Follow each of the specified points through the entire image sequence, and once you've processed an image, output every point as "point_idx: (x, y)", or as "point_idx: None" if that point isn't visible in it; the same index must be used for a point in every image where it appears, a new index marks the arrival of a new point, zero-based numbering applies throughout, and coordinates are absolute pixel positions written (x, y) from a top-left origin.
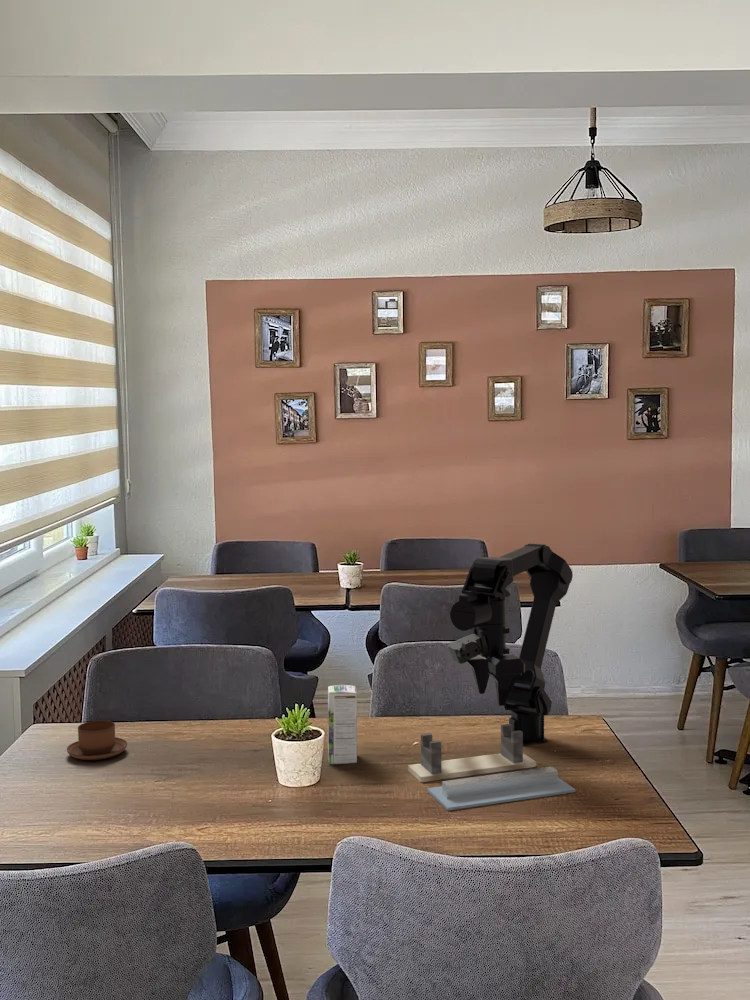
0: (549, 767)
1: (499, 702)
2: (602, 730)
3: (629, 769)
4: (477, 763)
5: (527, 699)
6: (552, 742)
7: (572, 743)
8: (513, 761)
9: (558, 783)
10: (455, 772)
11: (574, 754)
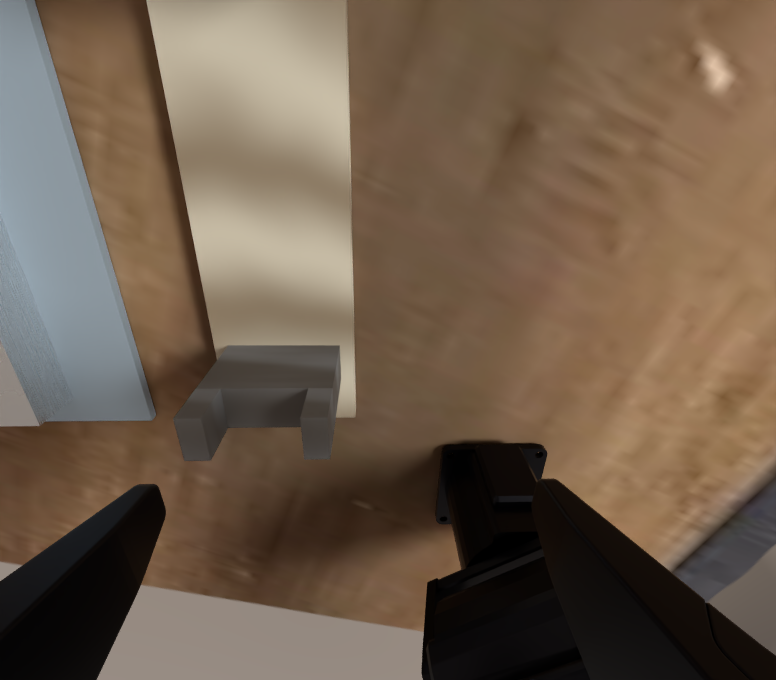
0: (27, 415)
1: (111, 507)
2: None
3: (164, 585)
4: (261, 211)
5: (439, 635)
6: (432, 524)
7: (401, 558)
8: (226, 349)
9: None
10: (155, 40)
11: (313, 531)
